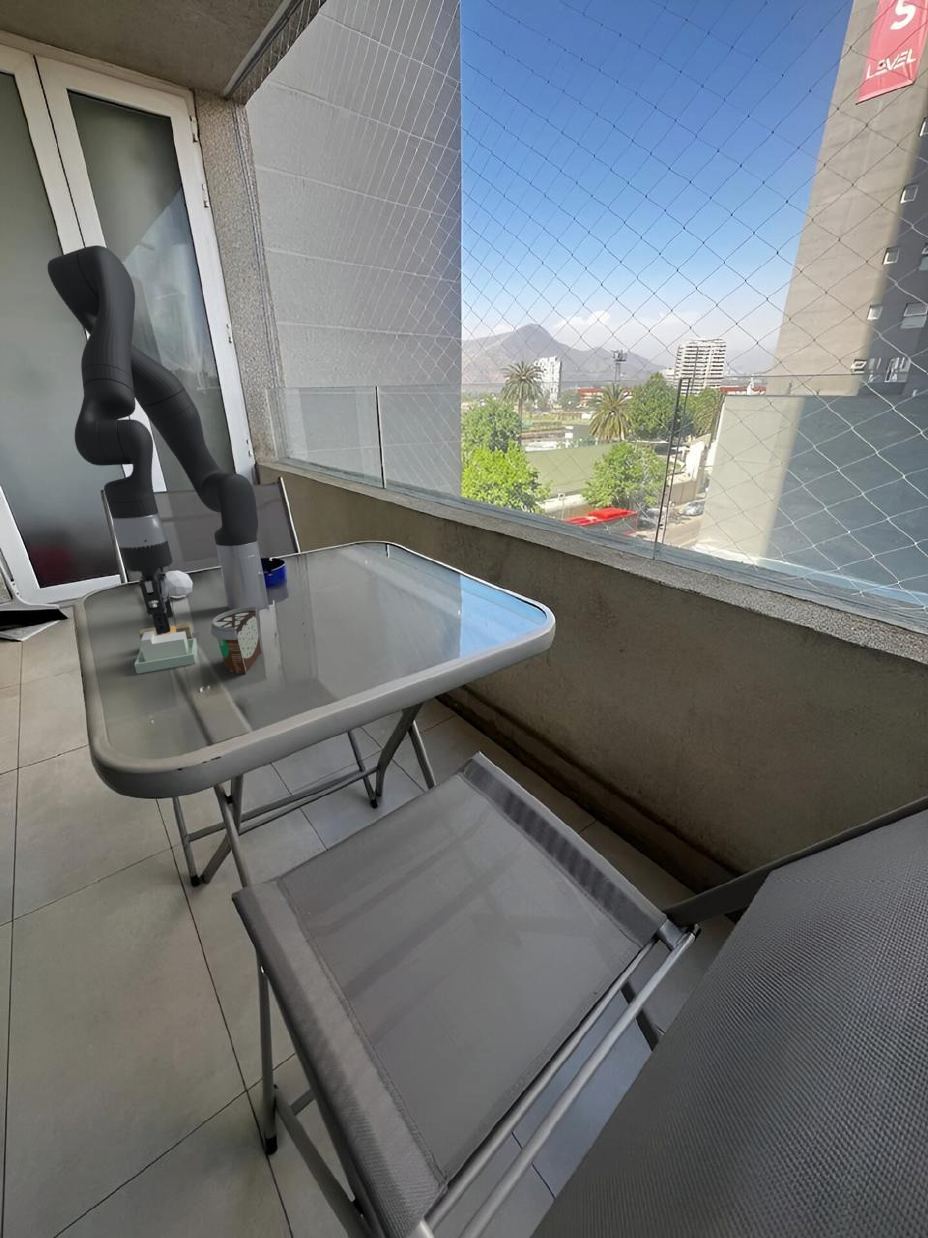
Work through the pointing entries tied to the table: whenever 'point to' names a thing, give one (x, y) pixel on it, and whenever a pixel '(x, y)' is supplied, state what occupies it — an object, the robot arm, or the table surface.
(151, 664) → the tray
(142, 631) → the tan blocks
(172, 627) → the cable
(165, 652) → the white notched block
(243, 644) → the food container
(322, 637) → the table surface
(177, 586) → the ball
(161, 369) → the robot arm
